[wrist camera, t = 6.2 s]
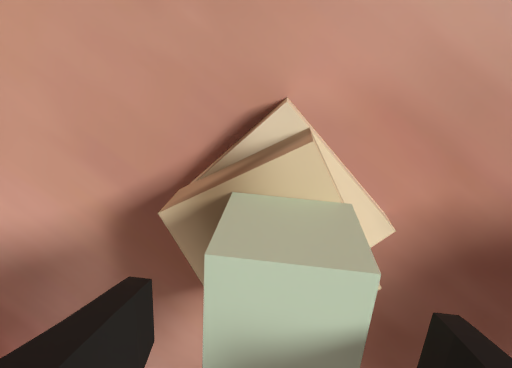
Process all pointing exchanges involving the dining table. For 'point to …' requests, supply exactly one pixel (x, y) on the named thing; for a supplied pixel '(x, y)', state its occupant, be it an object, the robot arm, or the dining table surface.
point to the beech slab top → (247, 191)
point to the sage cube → (287, 285)
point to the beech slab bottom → (292, 122)
